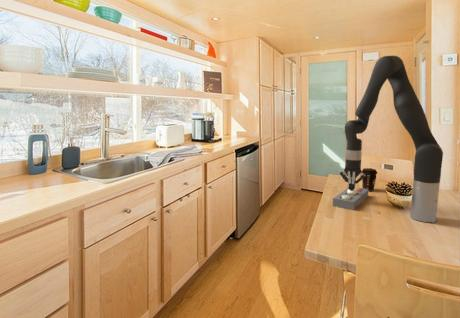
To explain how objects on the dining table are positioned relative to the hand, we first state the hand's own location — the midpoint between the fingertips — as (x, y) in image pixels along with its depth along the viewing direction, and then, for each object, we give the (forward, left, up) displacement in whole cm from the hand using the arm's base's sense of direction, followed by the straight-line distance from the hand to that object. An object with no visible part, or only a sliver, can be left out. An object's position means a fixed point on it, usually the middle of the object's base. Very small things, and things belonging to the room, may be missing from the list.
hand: (351, 190), depth 143 cm
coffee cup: (-2, -27, -6) cm, 28 cm away
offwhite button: (0, 0, -3) cm, 3 cm away
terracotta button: (0, -9, -4) cm, 10 cm away
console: (0, 0, -6) cm, 6 cm away
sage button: (0, +9, -4) cm, 10 cm away
